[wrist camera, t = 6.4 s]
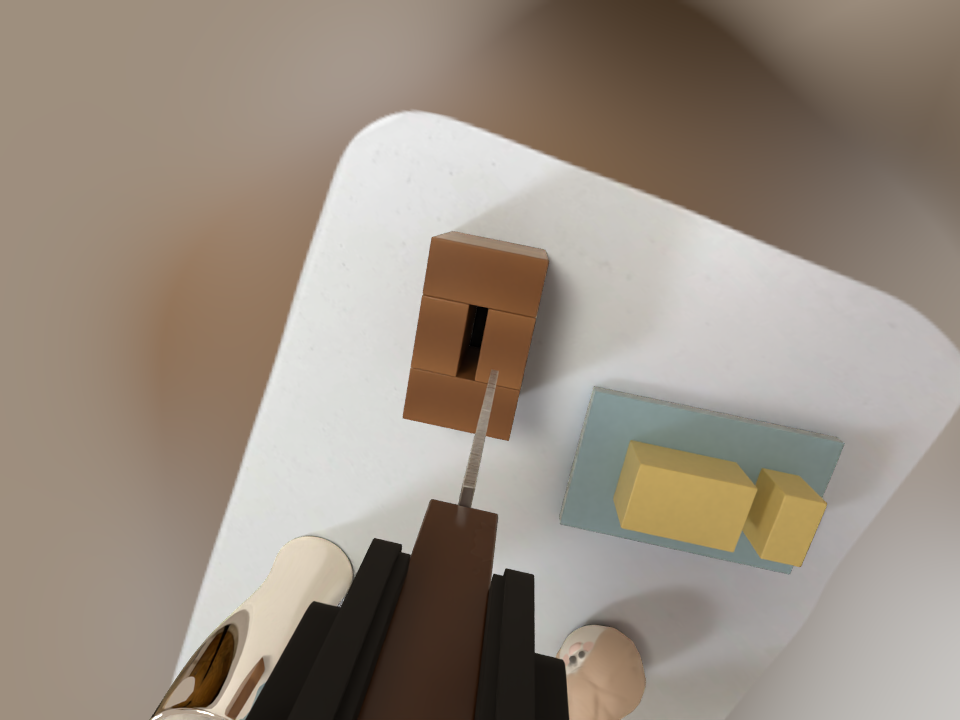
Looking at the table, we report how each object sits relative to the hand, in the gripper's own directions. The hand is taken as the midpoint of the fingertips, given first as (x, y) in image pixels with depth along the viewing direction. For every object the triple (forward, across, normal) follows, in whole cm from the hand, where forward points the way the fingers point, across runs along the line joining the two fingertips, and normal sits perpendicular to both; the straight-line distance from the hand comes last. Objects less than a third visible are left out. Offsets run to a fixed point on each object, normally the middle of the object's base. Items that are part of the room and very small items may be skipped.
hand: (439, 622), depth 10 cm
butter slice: (+25, -19, +8) cm, 32 cm away
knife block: (+26, +2, 0) cm, 26 cm away
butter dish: (+26, -14, +8) cm, 31 cm away
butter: (+25, -13, +8) cm, 29 cm away
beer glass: (+26, +10, +22) cm, 35 cm away
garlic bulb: (+26, -12, +23) cm, 36 cm away
